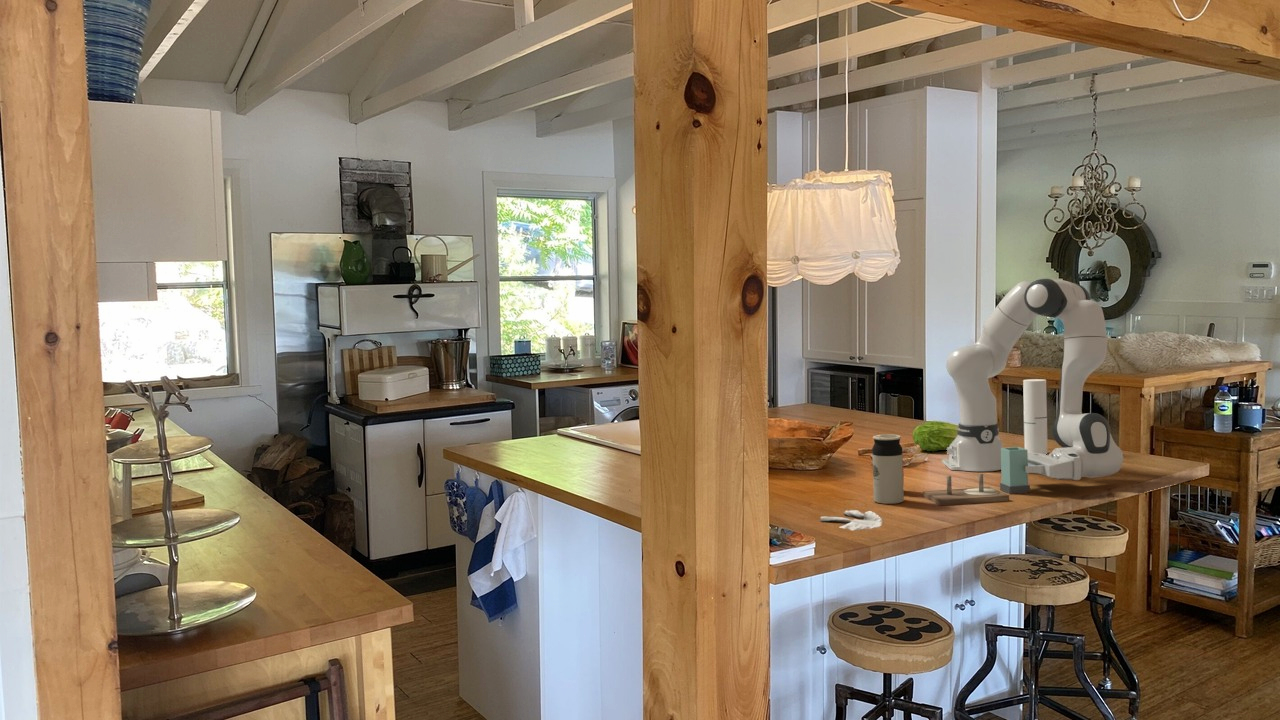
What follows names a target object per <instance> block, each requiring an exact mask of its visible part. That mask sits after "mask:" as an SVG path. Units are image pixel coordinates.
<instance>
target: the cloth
mask: <svg viewBox="0 0 1280 720" xmlns="http://www.w3.org/2000/svg"><path fill="white" fill-rule="evenodd" d="M843 515H844V516H845V517H842V516H841V517H839V516H820V518H819V519H820V523H825V522H827V523H828V522H829V523H837V524H838V523H839V524H840V523H841V524H844V525H841V526H839V527H838V528H839V529H841V530H842V529H843V530H849V531H862V530H871V529H876V528H880V527H882V525H883V520H884V519H882V517H880V515H878V514H877V513H876V512H873V511H871V510H868V511H865V512H864V513H863V512H860V510H856V509H855V510H854V509H850V510H845V511H844V512H843ZM846 516H847V517H850V518H846ZM851 518H854V519H851Z"/></svg>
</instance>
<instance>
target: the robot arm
mask: <svg viewBox="0 0 1280 720" xmlns="http://www.w3.org/2000/svg"><path fill="white" fill-rule="evenodd" d="M1091 299H1092V298H1091V295H1090V293H1089V291H1088V290H1087V289H1086V287H1084V286H1082V285H1081V284H1079V283H1076V282H1071V281H1069V280H1068V281H1067V280H1063V279H1050V278H1039V279H1036V280H1033V281H1028V280H1023V281H1020V282H1018V283H1017V284H1015V285H1014V286H1013V287H1012V288H1011V289H1010V290H1009V291H1008V292H1007V293H1006V294H1005V295H1004V296H1003V298H1002V299H1001V300H1000V301H999V303H998V304H997V305H996V306H995V308H993V311H991V313H990V315H989V316H987V318H986V320H985V321H984V323H983V324H982V328H983V329H982V332H981V334H980V336H979V339H978V340H977V341H976V342H975V343H973V344H972V345H967V346H962V347H959V348H957V349H956V350H954V351H952V352H950V354H949V355H948V357H947V359H946V363H945V364H946V365H945V366H946V367H945V368H946V370H947V373H948V375H950V377H951V378H952V380H953V382H954V385H955V388H956V393H957V397H958V407H959V423H958V424H957V425H958V432H957V434H958V436H957V437H956V438H955V440H954V441H953V442H952V443H951V444H950V446H949V447H947V451H946V454H947V455H948V457H946V458H943V459H941V463H942V464H943V465H944V466H946V467H947V468H948V469H949V470H952V471H965V472H966V471H967V472H994V471H1000V470H1001V448H1004V443H1003V440H1002V439H1000V437H999V434H1000V432H999V431H1000V427H999V423H998V417H997V416H998V415H997V412H998V411H997V398H996V396H995V395H994V394H993V392H992V390H991V385H990V382H989V379H990V378H994V377H995V376H997V375H999V374H1000V373H1002V372H1003V371H1004V369H1005V368H1006V366H1007V363H1008V358H1009V356H1010V354H1011V352H1012V350H1013V348H1014V347H1015V345H1016V343H1017V342H1018V341H1019V339H1020V338H1021V336H1023V334H1024V332H1025V331H1026V330H1027V329H1028V328H1029V326H1030V325H1031V323H1033V321H1034V320H1035V318H1036V317H1038V316H1041V317H1048V318H1053V319H1056V318H1057V319H1059V321H1061V323H1062V325H1063V338H1064V339H1063V345H1064V347H1063V359H1062V367H1061V369H1060V370H1061V371H1060V378H1059V379H1060V380H1059V393H1058V406H1057V407H1058V408H1057V414H1056V416H1055V420H1054V422H1053V425H1052V436H1053V438H1054V440H1055V442H1056V443H1057V444H1058V446H1060V447H1056V448H1054V449H1053V450H1052V451H1051V452H1049V454H1047V455H1046V454H1042V453H1028V466H1024V467H1023V468H1024V472H1026V473H1028V474H1040V475H1043V476H1045V477H1048V478H1051V479H1058V480H1072V481H1080V480H1081V478H1083V477H1085V478H1101V477H1107V476H1111V475H1114V474H1116V473H1118V472H1119V471H1120V470H1121V468H1122V467H1123V464H1124V463H1123V462H1124V454H1123V451H1122V449H1121V448H1120V447H1119V446H1118V445H1117V443H1115V441H1114V439H1113V435H1112V434H1111V426H1110V424H1109V421H1108V419H1106V418H1105V416H1103V415H1102V414H1099V413H1095V412H1088V413H1083V411H1082V409H1083V391H1084V386H1085V382H1086V381H1087V379H1088V377H1089V376H1091V374H1093V372H1095V370H1097V369H1098V368H1100V367H1101V366H1102V364H1104V362H1105V360H1106V355H1107V351H1108V341H1107V340H1108V338H1107V327H1106V320H1105V316H1104V315H1105V314H1104V311H1103V308H1102V306H1101V305H1100V303H1098V302H1097V301H1093V300H1091Z"/></svg>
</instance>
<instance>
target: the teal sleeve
mask: <svg viewBox="0 0 1280 720" xmlns="http://www.w3.org/2000/svg"><path fill="white" fill-rule="evenodd" d="M1024 466H1028V451H1027V449H1025V447H1024V448H1023V447H1019V446H1011V447H1003V448H1001V471H1000V474H1001V475H1000V478H1001V480H1000V481H1001V482H1000V483H999V489H1000V492H1003V493H1005V494H1008V493H1009V494H1008V495H1016V494H1015V493H1018V494H1026V493H1025V492H1030V493H1031V487H1030V486H1031V485H1029V473H1026V472H1024V468H1023V467H1024Z"/></svg>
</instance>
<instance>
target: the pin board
mask: <svg viewBox="0 0 1280 720" xmlns="http://www.w3.org/2000/svg"><path fill="white" fill-rule="evenodd" d="M952 488H953V487H952V476H951V475H946V489H941V490H940V489H939V490H938V489H937V490H924V491H923V498H926V499H928V500H929V501H931V502H933V503H934V504H936V505H939V506H954V505H956V506H957V505H968V504H969V505H971V503H972V504H984V503H997V502H1010V494H1008V493H1006V492H1003V491H1001V490H1000V491H999V490H997V489H995V488H992V487H990V486H984V474H983V473H979V474H978V487H970V488H969V487H968V488H954V489H952Z"/></svg>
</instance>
